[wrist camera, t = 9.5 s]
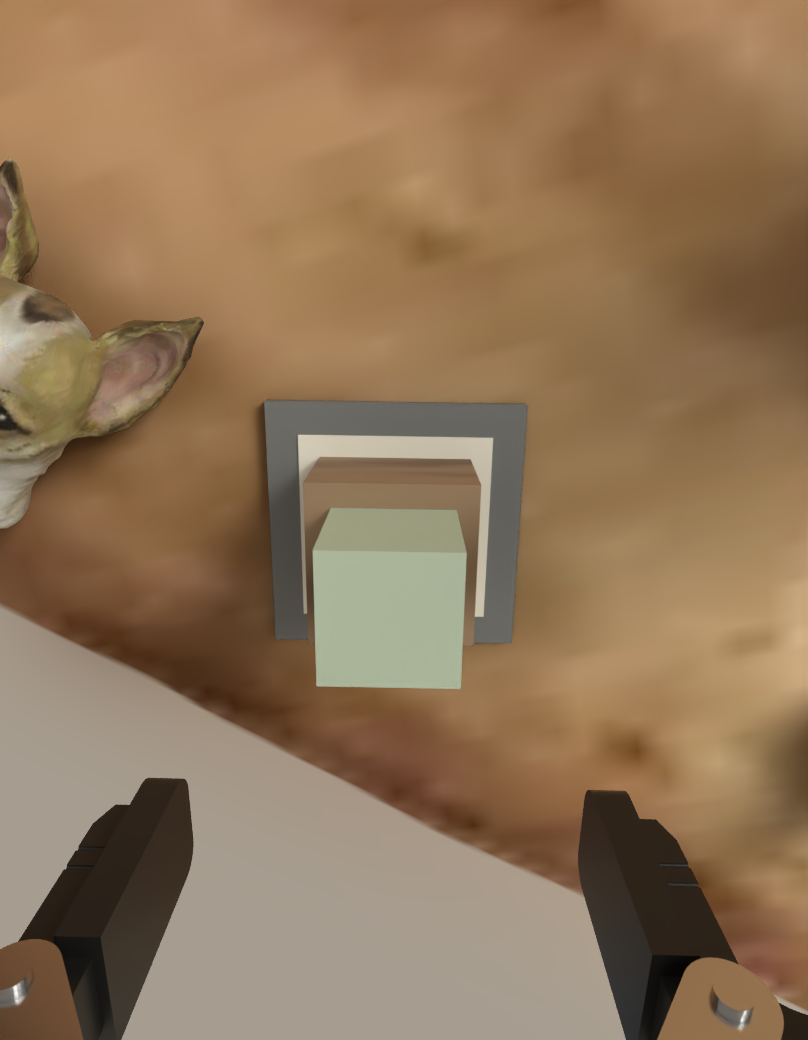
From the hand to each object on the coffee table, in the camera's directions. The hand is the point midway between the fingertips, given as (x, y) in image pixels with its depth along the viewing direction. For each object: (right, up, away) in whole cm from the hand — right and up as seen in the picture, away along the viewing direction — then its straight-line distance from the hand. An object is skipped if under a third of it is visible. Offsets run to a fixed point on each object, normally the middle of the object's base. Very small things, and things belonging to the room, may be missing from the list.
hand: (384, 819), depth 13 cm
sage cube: (0, +4, +14) cm, 14 cm away
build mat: (0, +6, +19) cm, 20 cm away
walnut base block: (0, +6, +18) cm, 19 cm away
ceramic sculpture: (-16, +13, +18) cm, 27 cm away
